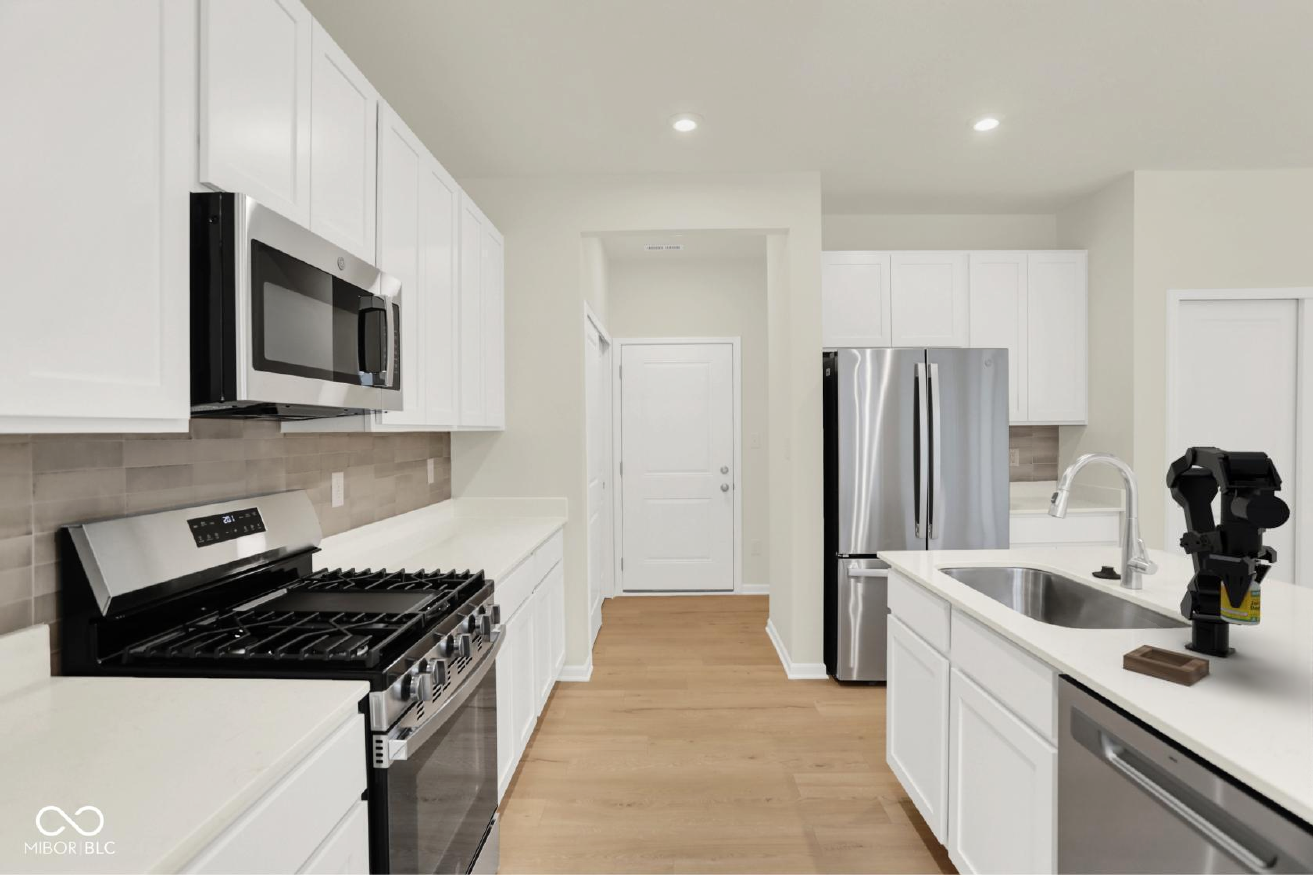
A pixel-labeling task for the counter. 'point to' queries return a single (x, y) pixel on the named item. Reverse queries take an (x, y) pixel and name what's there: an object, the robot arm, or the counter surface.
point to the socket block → (1166, 664)
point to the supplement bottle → (1242, 607)
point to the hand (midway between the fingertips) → (1240, 604)
